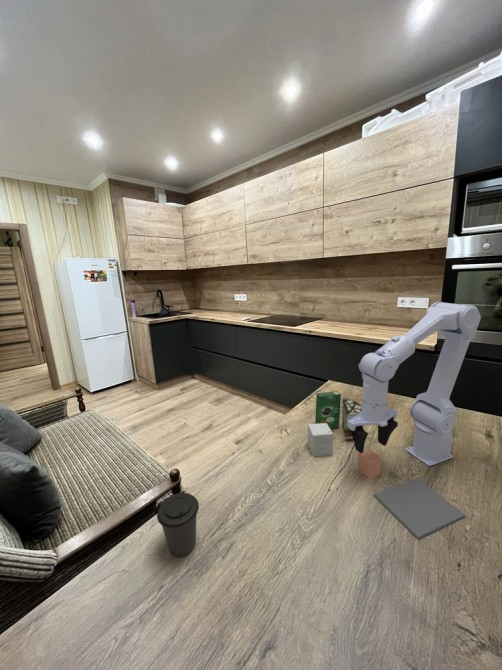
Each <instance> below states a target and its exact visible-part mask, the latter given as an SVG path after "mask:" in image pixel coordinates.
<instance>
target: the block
mask: <svg viewBox="0 0 502 670" xmlns="http://www.w3.org/2000/svg"><path fill="white" fill-rule="evenodd" d="M382 462H383V458H382V457H381V456H380V455H378V454H377V453H376V452H375V451H374V450H372V449H368V450H364V451H363V453H359V452H358V465H357V469H358V470H359V471H360V472H361V473H362V474H363V475H364V476H365V477H366V478H367V479H368V480H369V479H371V478H375V477H377V476H379V475H381V474H382V473H381V472H382Z"/></svg>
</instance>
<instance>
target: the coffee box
mask: <svg viewBox="0 0 502 670" xmlns="http://www.w3.org/2000/svg"><path fill="white" fill-rule="evenodd" d="M341 398H342V393H340V392H339V391H337V390H335V391H326V392H318V393H316V399H315V417H314V418H315V421H314V422H315V423H314V424H321V423H327V425H328V426H329V428H330V430H336V429H339V428H340V418H341V417H340V416H341V415H340V413H341V400H342V399H341Z"/></svg>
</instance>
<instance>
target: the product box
mask: <svg viewBox="0 0 502 670" xmlns="http://www.w3.org/2000/svg"><path fill="white" fill-rule="evenodd" d="M307 446H308V448H309V450H310V452H311V453H310V454H311V455H312V457H325V456H333V449H334V433H333V432H332V429H330V428H329V426H328V425H327V423H321V424H315V423H308V424H307Z"/></svg>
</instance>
